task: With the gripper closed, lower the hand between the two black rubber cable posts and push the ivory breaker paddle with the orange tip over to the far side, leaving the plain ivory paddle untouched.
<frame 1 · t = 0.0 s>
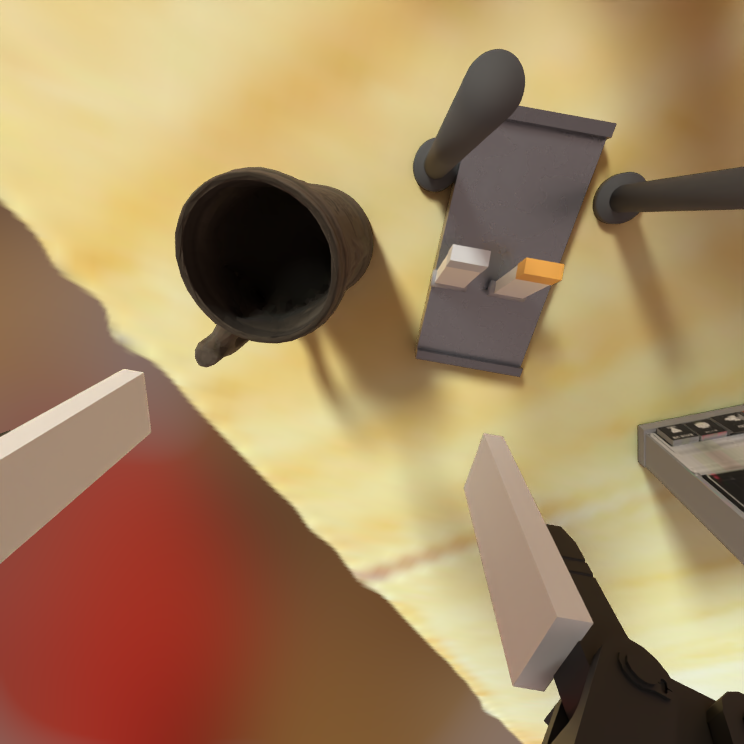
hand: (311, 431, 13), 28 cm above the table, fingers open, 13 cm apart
beer stein: (314, 262, 38), on the table
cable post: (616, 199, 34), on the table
breaker paddle: (521, 282, 32), point 6 cm above the table, hinge at -25.0°
breaker paddle a: (457, 271, 32), point 6 cm above the table, hinge at -25.0°
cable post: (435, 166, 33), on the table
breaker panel: (494, 255, 36), on the table
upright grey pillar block: (695, 429, 43), on the table
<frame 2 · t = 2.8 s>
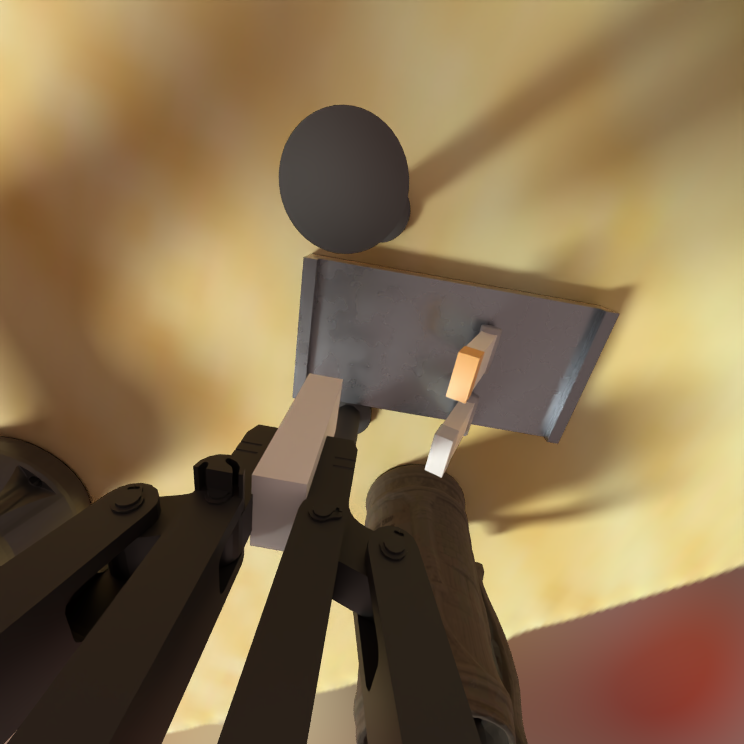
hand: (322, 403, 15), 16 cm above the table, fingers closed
beer stein: (432, 509, 39), on the table
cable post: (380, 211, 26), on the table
breaker paddle: (476, 360, 25), point 6 cm above the table, hinge at -25.0°
breaker paddle a: (454, 430, 27), point 6 cm above the table, hinge at -25.0°
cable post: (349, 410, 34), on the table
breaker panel: (438, 347, 31), on the table
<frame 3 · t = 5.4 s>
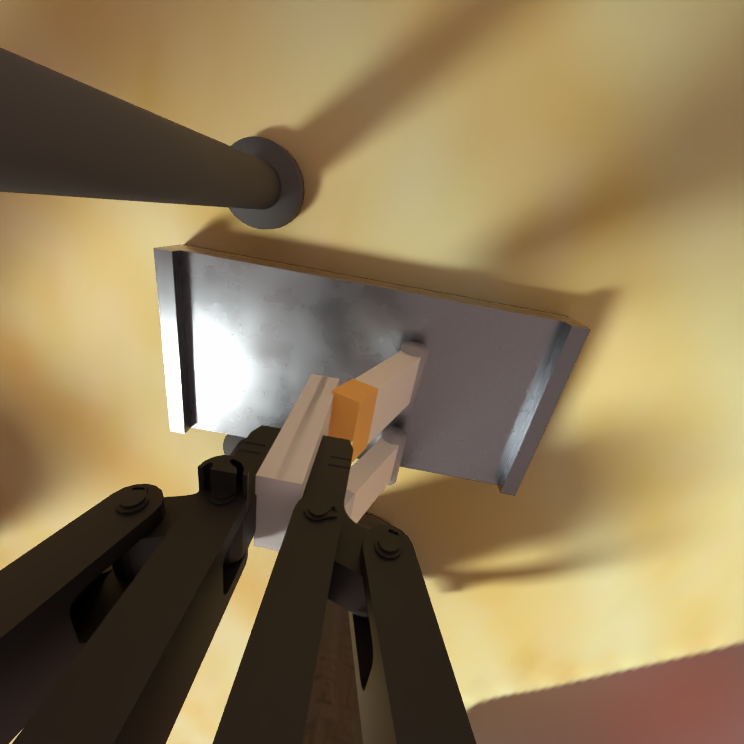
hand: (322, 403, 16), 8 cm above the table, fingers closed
beer stein: (371, 560, 32), on the table
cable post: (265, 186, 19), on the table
breaker paddle: (384, 394, 17), point 6 cm above the table, hinge at -23.9°, touching gripper
breaker paddle a: (364, 483, 20), point 6 cm above the table, hinge at -25.0°
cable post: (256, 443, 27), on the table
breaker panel: (360, 368, 24), on the table
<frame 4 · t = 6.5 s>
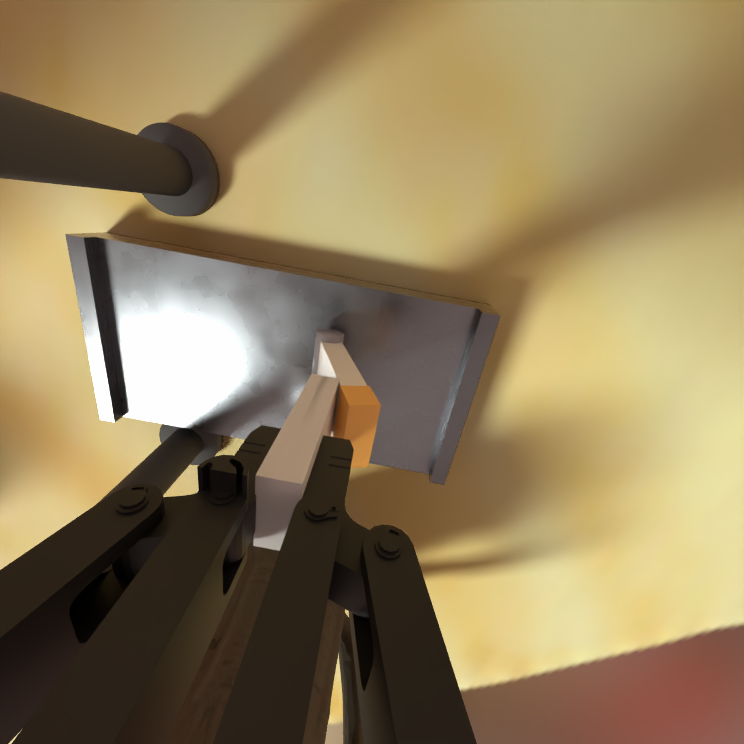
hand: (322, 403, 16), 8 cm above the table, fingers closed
beer stein: (319, 553, 32), on the table
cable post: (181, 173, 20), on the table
breaker paddle: (338, 389, 17), point 6 cm above the table, hinge at 21.8°, touching gripper
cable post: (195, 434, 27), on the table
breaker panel: (290, 357, 24), on the table
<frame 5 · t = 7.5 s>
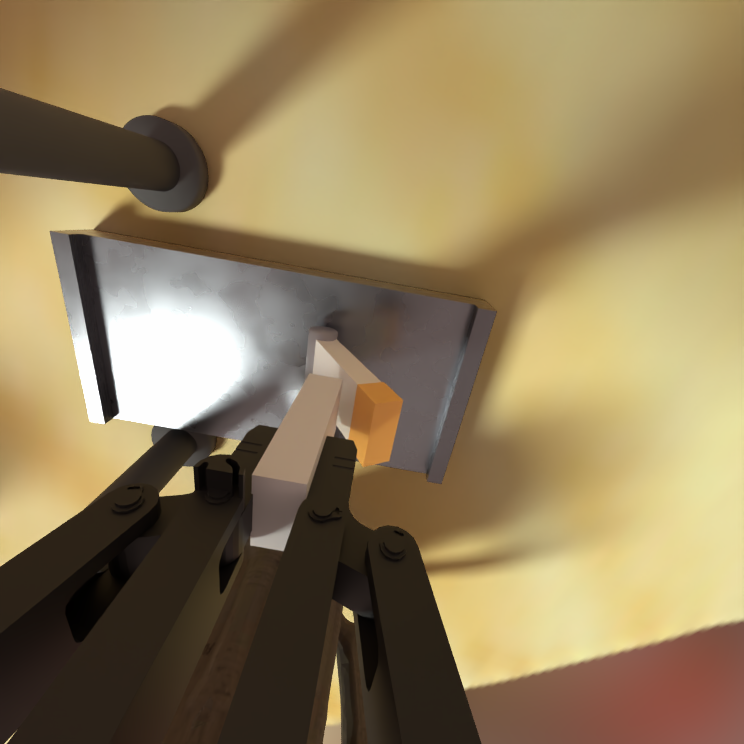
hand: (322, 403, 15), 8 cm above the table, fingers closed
beer stein: (315, 554, 31), on the table
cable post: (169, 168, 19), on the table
breaker paddle: (343, 387, 17), point 6 cm above the table, hinge at 32.0°
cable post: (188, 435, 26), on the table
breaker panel: (283, 356, 23), on the table
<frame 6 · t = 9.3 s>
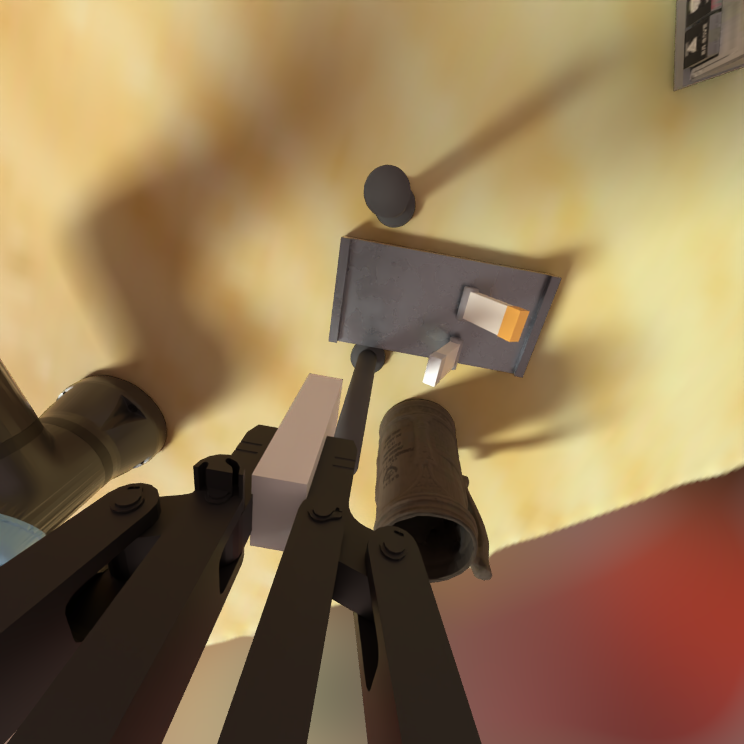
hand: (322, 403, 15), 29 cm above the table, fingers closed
beer stein: (430, 437, 50), on the table
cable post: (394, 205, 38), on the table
breaker paddle: (488, 313, 36), point 6 cm above the table, hinge at 32.2°
breaker paddle a: (444, 360, 38), point 6 cm above the table, hinge at -25.0°
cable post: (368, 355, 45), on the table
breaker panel: (435, 305, 42), on the table
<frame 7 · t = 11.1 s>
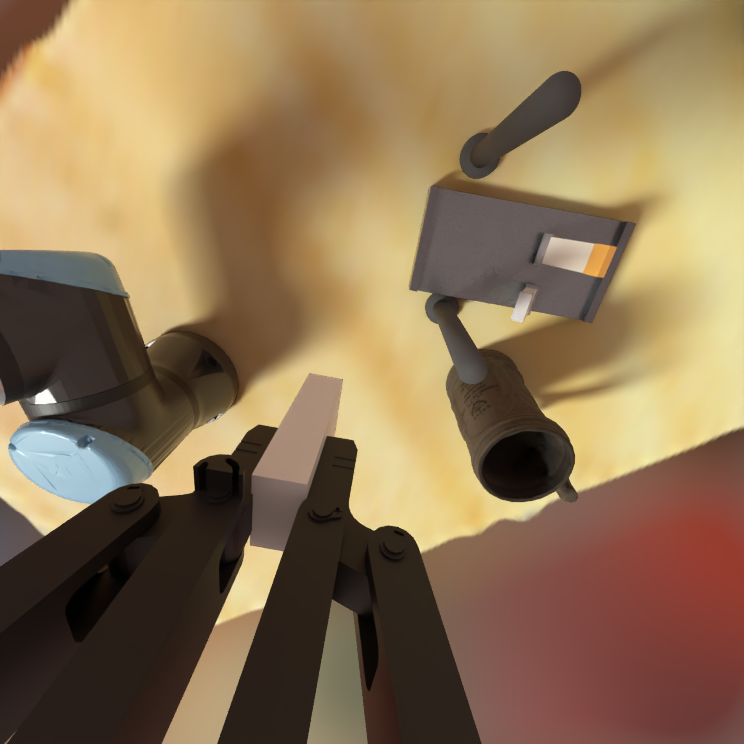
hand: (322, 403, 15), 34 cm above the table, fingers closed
beer stein: (493, 389, 53), on the table
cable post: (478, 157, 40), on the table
breaker paddle: (570, 255, 39), point 6 cm above the table, hinge at 32.2°
breaker paddle a: (525, 302, 41), point 6 cm above the table, hinge at -25.0°
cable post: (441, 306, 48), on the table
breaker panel: (509, 256, 44), on the table
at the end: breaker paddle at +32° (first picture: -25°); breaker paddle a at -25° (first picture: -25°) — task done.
